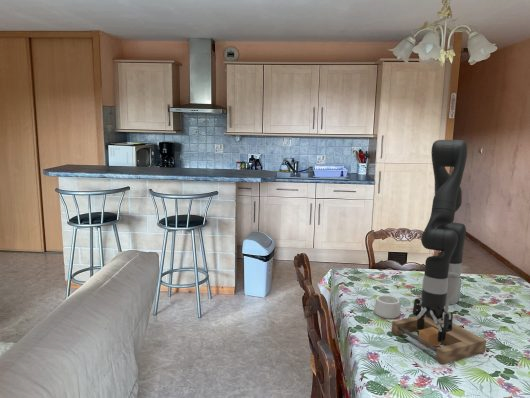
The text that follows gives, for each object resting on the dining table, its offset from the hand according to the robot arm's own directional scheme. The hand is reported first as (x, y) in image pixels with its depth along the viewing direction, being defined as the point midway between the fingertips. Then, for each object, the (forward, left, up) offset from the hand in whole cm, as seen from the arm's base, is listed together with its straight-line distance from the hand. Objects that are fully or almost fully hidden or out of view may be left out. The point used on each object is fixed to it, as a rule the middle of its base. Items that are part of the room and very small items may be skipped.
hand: (430, 335), depth 137 cm
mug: (-4, -24, -3) cm, 24 cm away
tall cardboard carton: (0, 0, -3) cm, 3 cm away
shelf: (-3, 0, -3) cm, 4 cm away
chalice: (-19, -10, -3) cm, 21 cm away
